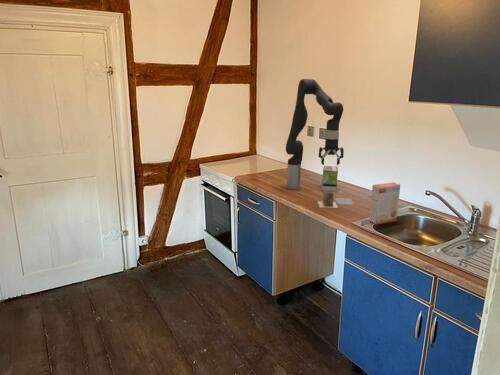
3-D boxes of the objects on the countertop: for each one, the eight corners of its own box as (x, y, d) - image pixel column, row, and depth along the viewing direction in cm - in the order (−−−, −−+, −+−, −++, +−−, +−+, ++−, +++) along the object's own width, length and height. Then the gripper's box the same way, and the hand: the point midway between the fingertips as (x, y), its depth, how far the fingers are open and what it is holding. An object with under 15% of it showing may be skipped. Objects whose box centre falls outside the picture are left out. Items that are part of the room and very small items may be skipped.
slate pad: (337, 204, 231) (337, 204, 231) (334, 198, 242) (334, 198, 242) (354, 205, 230) (354, 204, 230) (350, 198, 242) (350, 198, 242)
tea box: (336, 191, 257) (338, 170, 253) (321, 191, 259) (322, 170, 255) (336, 185, 271) (337, 165, 267) (322, 185, 273) (323, 165, 269)
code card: (319, 207, 226) (319, 207, 226) (317, 201, 236) (317, 201, 236) (338, 207, 225) (338, 207, 225) (335, 202, 236) (335, 201, 236)
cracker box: (389, 217, 210) (393, 181, 204) (396, 221, 204) (401, 184, 198) (368, 221, 205) (372, 184, 199) (375, 225, 199) (379, 187, 193)
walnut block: (324, 206, 227) (325, 193, 225) (322, 202, 234) (323, 190, 232) (332, 206, 227) (333, 193, 225) (331, 202, 234) (331, 190, 232)
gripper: (320, 138, 216) (319, 166, 220) (345, 138, 215) (343, 166, 220) (318, 136, 223) (317, 163, 228) (343, 136, 222) (341, 163, 227)
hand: (330, 164), depth 224 cm, fingers open, 8 cm apart
